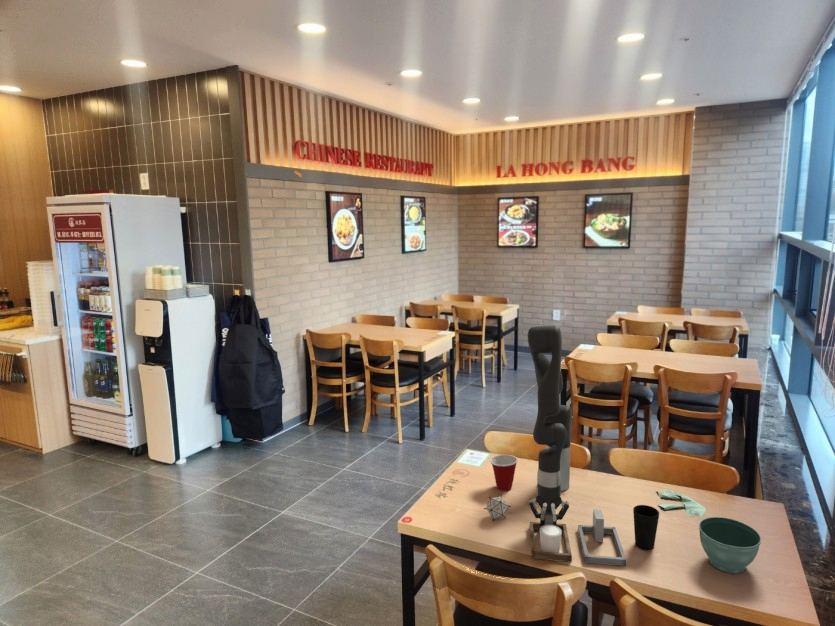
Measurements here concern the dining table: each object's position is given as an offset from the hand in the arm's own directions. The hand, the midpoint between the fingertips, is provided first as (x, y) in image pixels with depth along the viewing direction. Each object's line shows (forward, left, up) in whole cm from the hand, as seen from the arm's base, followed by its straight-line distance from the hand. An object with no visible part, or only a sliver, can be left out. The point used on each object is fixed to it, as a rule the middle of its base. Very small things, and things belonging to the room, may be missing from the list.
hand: (548, 529), depth 183 cm
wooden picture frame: (+6, 0, -1) cm, 6 cm away
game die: (-8, -17, -2) cm, 19 cm away
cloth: (-27, +47, -2) cm, 54 cm away
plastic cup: (-31, -15, -2) cm, 34 cm away
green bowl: (+10, +52, -2) cm, 53 cm away
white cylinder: (+10, 0, -2) cm, 10 cm away
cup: (+3, +30, -2) cm, 30 cm away
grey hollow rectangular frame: (+6, +16, -1) cm, 17 cm away
